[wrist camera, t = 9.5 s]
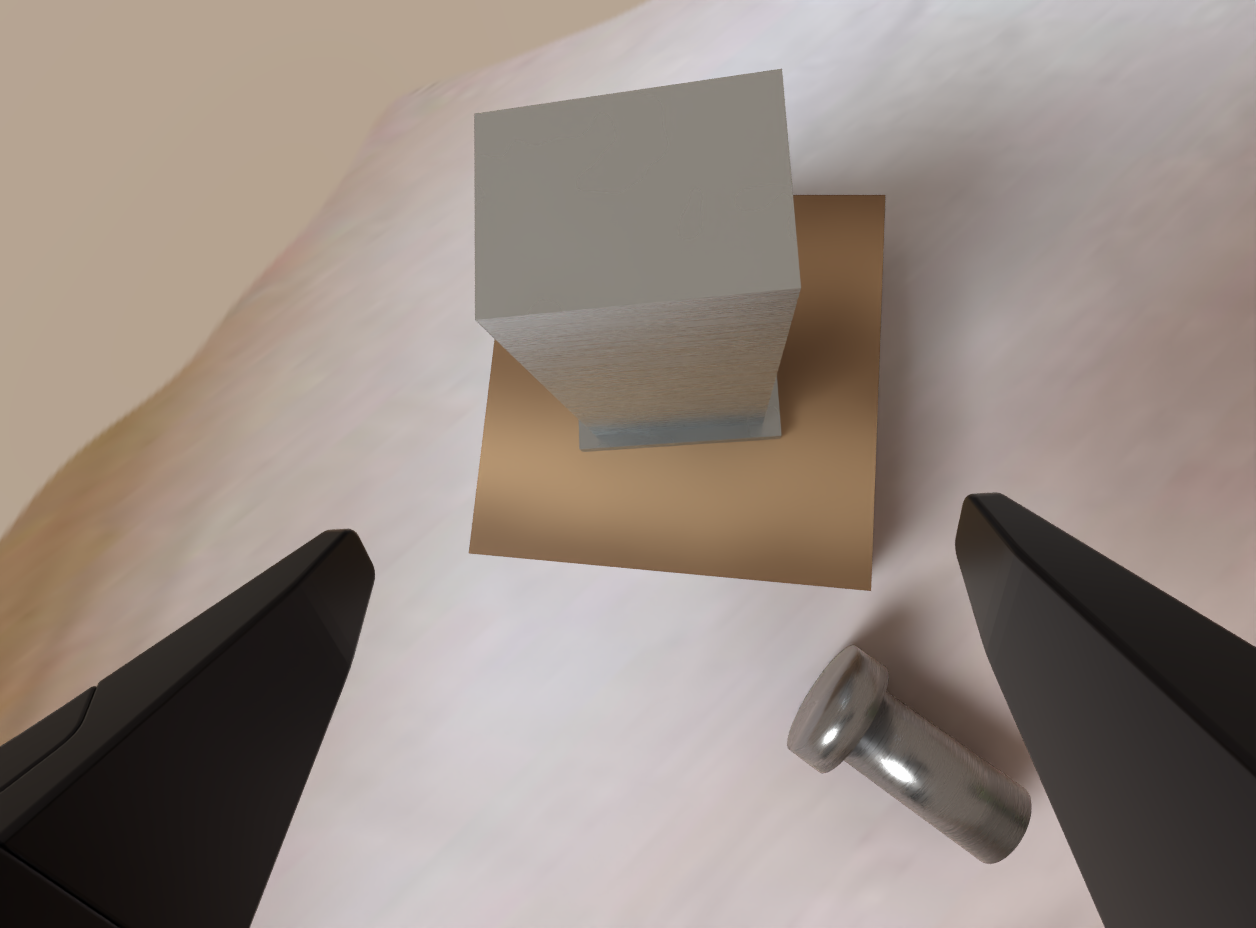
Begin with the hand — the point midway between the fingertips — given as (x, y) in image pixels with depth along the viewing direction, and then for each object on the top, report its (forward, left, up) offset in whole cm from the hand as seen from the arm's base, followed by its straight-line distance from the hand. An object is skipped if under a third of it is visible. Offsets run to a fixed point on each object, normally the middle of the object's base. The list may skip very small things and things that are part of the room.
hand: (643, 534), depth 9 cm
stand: (+5, +1, -13) cm, 14 cm away
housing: (+5, +1, -10) cm, 11 cm away
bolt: (-6, -7, -13) cm, 16 cm away
